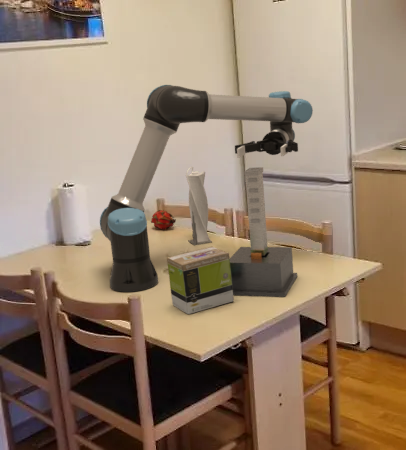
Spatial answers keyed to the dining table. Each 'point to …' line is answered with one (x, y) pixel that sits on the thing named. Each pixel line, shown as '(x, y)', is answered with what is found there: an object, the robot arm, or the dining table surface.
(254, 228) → the column
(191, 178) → the skyscraper
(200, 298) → the tea box
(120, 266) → the robot arm
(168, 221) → the dragon fruit
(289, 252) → the stand base
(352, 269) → the dining table surface
